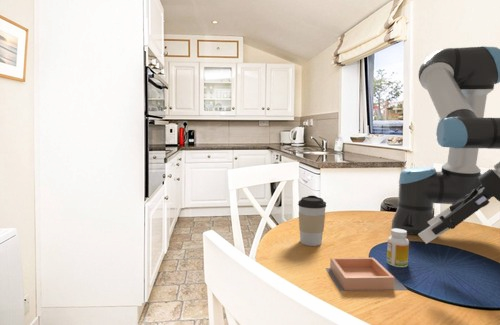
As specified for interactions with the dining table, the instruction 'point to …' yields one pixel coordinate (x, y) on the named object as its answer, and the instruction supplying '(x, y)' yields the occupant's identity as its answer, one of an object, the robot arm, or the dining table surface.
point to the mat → (396, 287)
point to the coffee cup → (311, 220)
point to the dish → (361, 274)
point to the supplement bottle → (398, 248)
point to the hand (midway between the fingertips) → (426, 232)
